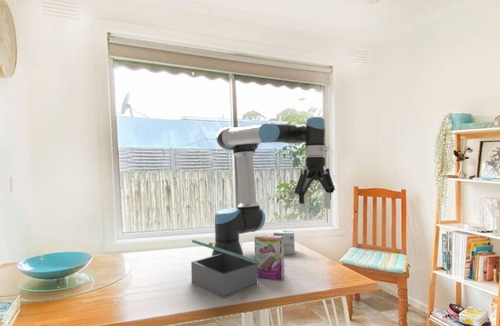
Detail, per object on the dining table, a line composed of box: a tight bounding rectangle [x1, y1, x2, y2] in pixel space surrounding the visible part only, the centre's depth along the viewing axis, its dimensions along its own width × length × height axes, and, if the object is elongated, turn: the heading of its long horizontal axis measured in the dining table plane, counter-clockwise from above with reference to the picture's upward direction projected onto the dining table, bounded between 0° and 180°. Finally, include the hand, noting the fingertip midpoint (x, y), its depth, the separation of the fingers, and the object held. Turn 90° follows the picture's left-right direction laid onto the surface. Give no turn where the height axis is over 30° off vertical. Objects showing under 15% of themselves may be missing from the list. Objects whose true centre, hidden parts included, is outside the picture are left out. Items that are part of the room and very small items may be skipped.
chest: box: [190, 253, 258, 299], centre depth 114 cm, size 20×16×8 cm
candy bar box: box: [254, 234, 285, 281], centre depth 120 cm, size 11×5×16 cm, turn 71°
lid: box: [191, 239, 258, 263], centre depth 115 cm, size 21×17×2 cm
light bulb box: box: [272, 229, 296, 255], centre depth 154 cm, size 11×7×11 cm, turn 84°
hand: (315, 210), depth 119 cm, fingers open, 13 cm apart
